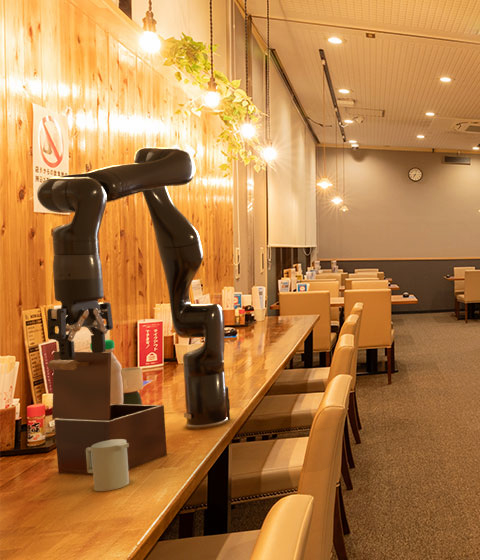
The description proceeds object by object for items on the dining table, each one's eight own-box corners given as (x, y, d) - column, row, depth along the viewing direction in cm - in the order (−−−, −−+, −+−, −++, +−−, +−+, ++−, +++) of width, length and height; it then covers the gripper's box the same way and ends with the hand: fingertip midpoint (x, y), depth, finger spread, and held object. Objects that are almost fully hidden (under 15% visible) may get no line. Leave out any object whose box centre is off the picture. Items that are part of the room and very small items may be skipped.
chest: (117, 452, 154) (113, 403, 153) (166, 454, 152) (163, 405, 151) (58, 472, 140) (54, 419, 140) (112, 475, 138) (108, 421, 138)
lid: (57, 351, 140) (30, 353, 135) (111, 352, 138) (86, 354, 133) (56, 417, 140) (29, 422, 135) (110, 419, 138) (85, 424, 133)
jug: (75, 490, 130) (72, 446, 130) (102, 479, 136) (99, 438, 135) (114, 492, 129) (111, 448, 128) (139, 481, 135) (137, 439, 134)
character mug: (118, 410, 192) (115, 367, 191) (147, 407, 196) (145, 365, 195) (110, 419, 183) (107, 374, 182) (141, 415, 186) (138, 371, 185)
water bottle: (106, 440, 163) (99, 342, 161) (83, 439, 164) (76, 342, 163) (133, 432, 170) (126, 338, 168) (111, 430, 171) (104, 338, 170)
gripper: (71, 278, 124) (77, 361, 125) (122, 274, 138) (127, 349, 139) (29, 279, 123) (35, 363, 124) (84, 275, 137) (89, 350, 138)
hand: (83, 355), depth 131 cm, fingers open, 8 cm apart
